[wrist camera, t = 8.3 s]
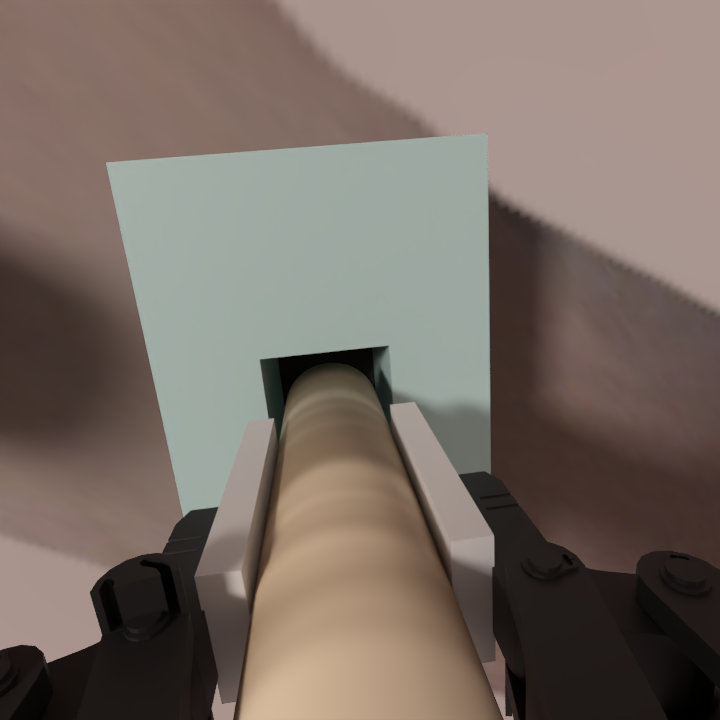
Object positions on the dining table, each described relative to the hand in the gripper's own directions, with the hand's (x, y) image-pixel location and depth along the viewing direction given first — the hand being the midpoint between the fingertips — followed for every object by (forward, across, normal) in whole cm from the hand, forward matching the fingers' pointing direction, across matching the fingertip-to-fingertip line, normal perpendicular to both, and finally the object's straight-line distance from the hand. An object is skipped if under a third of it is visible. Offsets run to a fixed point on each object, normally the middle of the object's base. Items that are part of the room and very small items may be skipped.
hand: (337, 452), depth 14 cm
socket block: (+9, 0, 0) cm, 9 cm away
